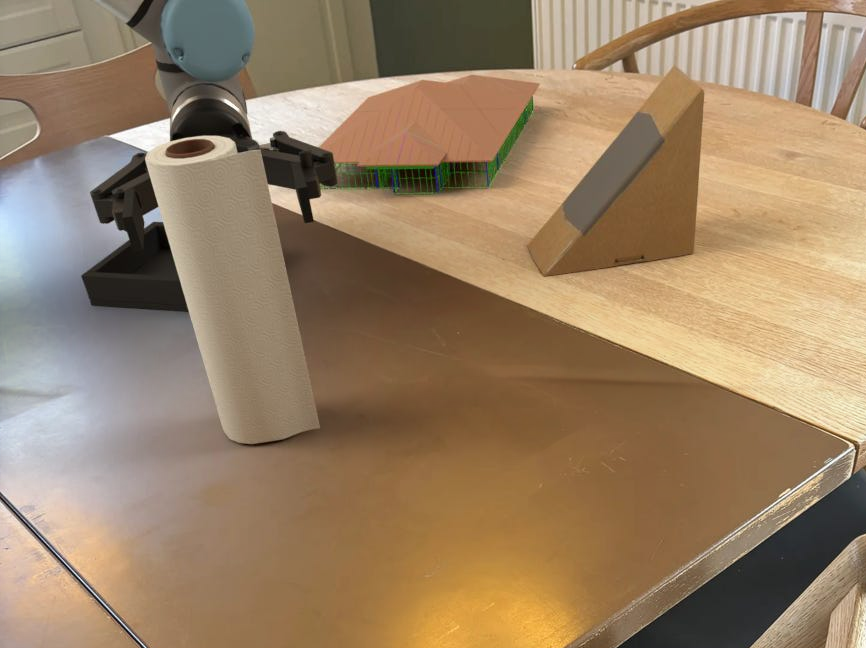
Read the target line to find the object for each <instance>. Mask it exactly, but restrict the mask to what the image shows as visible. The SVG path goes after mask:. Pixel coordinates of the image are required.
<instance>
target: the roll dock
mask: <svg viewBox="0 0 866 648" xmlns="http://www.w3.org/2000/svg"><path fill="white" fill-rule="evenodd" d="M80 277H81V280H82V282H83V285H84V288H85V291H86V294H87V297H88V300H89V303H90V305H91V306H100V307H115V308H128V309H129V308H130V309H145V310H161V311H177V312H189V310H188V307H187V303H186V300H185V296H184V293H183V289H182V286H181V282H180V279H179V275H178V272H177V268H176V265H175V262H174V258H173V255H172V251H171V248H170V244H169V241H168V237H167V234H166V230H165V227H164V223H163V221H152V222H151V223H150V224H148V225H147V226H145V227H144V243H143V251H140V252H134V253H133V250H132V246H131V243H130V240H129V239H128V240H127V241H125V242H124V243H123V244H122V245H119V247H117V248H116V249H115V250H113V251H112V252H111V253H109V254H108V255H107V256H106V257H104V258H103V259H101V260H100V261H98V262H97V263H96V264H94V265H93V266H92V267H90V268H89V269H87V271H85V272H84V273H82V274H81V276H80Z"/></svg>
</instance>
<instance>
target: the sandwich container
mask: <svg viewBox="0 0 866 648" xmlns="http://www.w3.org/2000/svg"><path fill="white" fill-rule="evenodd" d="M704 103H705V90H704V89H703V88H702V87H701V86H700V85H699V84H698V83H696V82H695V81H694V80H693V79H692V78H691V77H690V76H689V75H687V73H685V72H684V71H683V70H682V69H681V68H680V67H678V66H677V65H676V64H674V65H673V66H672V67H671V68H670V70H669V71H668V72H667V73H666V75H665V76H664V77H663V78H662V79H661V81H660V82H659V84H658V85H657V86H656V87H655V89H654V90H653V91H652V92H651V94H650V95H649V96H648V97H647V98H646V100H645V101H644V103H643V104H642V105H641V106H640V108H639V109H638V110H637V112H635V113H634V115H633V116H632V118H631V119H630V120H629V121H628V122H627V124H626V125H625V126H624V128H622V130H621V131H620V132H619V134H618V135H617V136H616V138H615V139H614V140H613V141H612V142H611V143H610V145H609V146H608V147H607V149H606V150H604V152H603V153H602V154H601V156H600V157H599V158H598V159H597V160H596V162H595V163H594V164H593V166H591V168H590V169H589V170H588V172H587V173H586V174H585V175H584V176H583V178H582V179H581V180H580V181H579V183H577V185H576V186H575V187H574V188H573V189H572V191H571V192H570V193H569V195H568V196H567V197H566V198H565V200H564V201H562V203H561V204H560V206H559V207H558V208H557V209H556V210H555V211H554V213H553V214H552V215H551V216H550V217H549V218H548V220H546V222H545V223H544V224H543V226H542V227H541V228H540V229H539V230H538V231H537V233H536V234H535V235H534V237H533V238H532V239H531V240H530V241H529V243H527V248H528V250H529V253H530V255H531V258H532V260H533V262H534V263H535V264H536V266H537V267H538V269H539V270H540V272H541V274H542V275H543V276H544V277H547V276H548V277H549V276H555V275H563V274H569V273H577V272H584V271H592V270H599V269H605V268H613V267H618V266H622V265H630V264H638V263H642V262H651V261H652V262H653V261H656V260H657V261H658V260H662V259H663V260H664V259H670V258H675V257H680V256H687V255H692V254H693V255H694V253H695V239H696V225H697V211H698V198H699V197H698V195H699V182H700V181H699V179H700V166H701V165H700V164H701V152H702V151H701V150H702V137H703V135H702V134H703V119H704V106H705V105H704Z"/></svg>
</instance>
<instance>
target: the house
mask: <svg viewBox="0 0 866 648" xmlns="http://www.w3.org/2000/svg"><path fill="white" fill-rule="evenodd" d="M539 86H540V83H539V82H532V81H525V80H517V79H510V78H501V77H495V76H494V77H493V76H486V75H477V74H470V75H466V76H462V77H460V78H456V79H453V80H450V81H446V82H445V81H435V80H427V79H421V80H418V81H415V82H412V83H408V84H405V85H402V86H399V87H396V88H393V89H390V90H387V91H384V92H381V93H377V94H374V95H372V96H368V97H367V98H366V99H365V100H364V101H363V102H362V103H361V104H360V105H359V106H358V107H357V108H356V109H355V110H353V112H352V113H351V114H350V115H349V116H348V117H347V118H346V119H345V120H344V121H343V122H342V123H341V124H340V125H339V126H338V127H337V128H336V129H335V130H334V131H333V132H332V133H331V134H330V135H329V136H328V137H327V138H326V139H325V140H324V141H323V142H322V143H321V144H320V145H319V146H317V147H318V148H321V149H324V150H327V151H329V152H332V153H333V157H334V163H335V168H336V170H337V169H340V173H338V172H336V174H337V175H341V181H342V182H341V183H342V187H339V186H338V185H336V187H335V188H336V189H339V190H342V189H346V190H348V189H357V190H358V189H359V187H358V186H357V179H356V174H357V175H358V172H355V166H354V165H356V166H357V167H359V174H360V181H361V189H364V183H363V177H362V175H366V177H367V185H368V189H371V187H370V181H369V175H368V174H369V173H368V170H370V175H371V182H372V189H375V185H374V179H373V175H375V180H376V189H383V188H384V186H385V185H386V189H389V186H388V182H389V180H390V179H391V183H392V191H393V194H394V195H396V194H397V195H399V194H400V195H403V194H405V195H406V194H407V195H409V194H410V195H413V194H414V195H415V194H422V195H423V194H426V195H428V194H440V193H441V191H442V189H489V188H490V187H491V185H492V183H493V181H494V180H495V178H496V176H497V175H496V174H498V173H499V171H500V170H499V169H501V168H499V167H500V166H501V167H502V166H503V165H502V163H503V162H504V163H505V161H506V159H507V158H506V156H507V153H508V152H509V151H510V149H511V147H512V146H513V145H514V146H515V144H514V142H515V140H516V138H517V137H518V136H519V134H520V132H521V130H522V128H523V126H524V125H525V124H526V121H527V119H528V117H530V116H529V115H531V113H532V111H533V109H534V95H535V93H536V91H537V89H538V88H539ZM526 109H527V110H526ZM526 125H527V124H526ZM521 133H522V132H521ZM520 135H521V134H520ZM511 150H512V149H511ZM510 152H511V151H510ZM507 157H508V156H507ZM505 158H506V159H505ZM504 160H505V161H504ZM451 163H452V164H451ZM458 163H459V168H460V169H459V170H462V163H465V165H466V170H469V164H468V163H472V170H474V171H455V170H456V169H455V166H457V167H458ZM475 163H478V165H479V167H480V170H481V171H475V170H476V166H475ZM481 163H484V164H485V170H486V171H485V177H486V186H484V182H483V178H481V183H482V184H481V186H470V184H468V186H464V184H463V183H464V182H463V181H461V186H457V180H456V177H454V183H455V186H450V184H448V187H447V186H446V187H445V185H446V184H447V183H450V178H451V176H452V175H451V174H454V176H456V174H459V173H460V176H461V179H463V174H467V180H468V182H470V174H471V173H474V174H481V176H483V171H482V170H483V168H482V165H481ZM504 163H503V164H504ZM341 165H345V166H346V167H345V168H346V172H342V166H341ZM348 165H352V170H353V172H349V169H348ZM446 166H447V167H446ZM450 166H453V167H452V172H451V167H450ZM361 167H365V170H366V171H365V172H362V170H361ZM372 170H374V172H372ZM400 170H404V172H405V177H401V174H400V173H398V172H400ZM407 170H411V176H412V177H411V178H412V184H413V185H412V186H413V190H414V191H413V192H409V185H408V177H407ZM413 170H418V177H414V172H413ZM420 170H424V171H425V172H424V173H425V174H427V170H429V173H430V175H432V170H433V176H434V177H433V176H430V177H427V176H428V175H425V177H423V176H422V177H421V176H420V175H421V173H420ZM453 170H454V171H453ZM489 170H490V171H489ZM491 170H492V171H491ZM494 170H495V171H494ZM497 170H498V171H497ZM343 174H344V175H345V174H347V179H348V180H347V181H348V185H349V187H345V184H344V179H343ZM350 175H354V176H353V177H354V184H355V187H351V182H350ZM476 177H477V176H476V175H474V182H475V183H474V185H477V178H476ZM403 179H404V180H406V181H405V183H406V188H407V189H406V190H407V192H403V189H402V183H401V180H403ZM416 179H417V180H418V179H419V180H421V179H425V181H426V182H425V183H428V179H429V180H430V182H431V184H433V179H435V185H436V192H434V187H433V185H431V192H429V186H428V184H426V190H427V192H423V191H422V183H421V181H419V186H420V187H419V188H420V192H416V189H415V181H414V180H416ZM493 179H494V180H493ZM319 185H320V188H321V189H320V190H324V188H326V186H325V185H322V184H319ZM322 186H323V187H322ZM327 188H328V189H327V190H329V188H330V187H327ZM340 188H341V189H340ZM399 189H400V192H398V190H399Z"/></svg>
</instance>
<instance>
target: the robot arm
mask: <svg viewBox="0 0 866 648" xmlns="http://www.w3.org/2000/svg"><path fill="white" fill-rule="evenodd" d="M91 1H92V2H94V3H95V4H97V5H98V6H99V7H101V8H102V9H104V10H105V11H107V12H108V13H109V14H111V15H112V16H114V17H115V18H117V19H118V20H119V21H121V22H122V23H124V24H125V25H126V26H128V27H129V28H130V29H131V30H132V31H134V32H135V33H137V34H138V35H140V36H141V37H142V38H143V39H145V40H146V41H148V42H149V43H151V46H152V49H153V53H154V56H155V63H156V66H157V71H158V74H159V78H160V83H161V86H162V89H163V93H164V97H165V101H166V104H167V109H168V111H169V112H168V113H169V142H170V141H175V140H179V139H183V138H189V137H197V136H221V137H226V138H230V139H231V140H232V141H234V142H235V144H236V148H237V153H242V152H247V151H252V150H261V155H262V159H263V164H264V169H265V173H266V178H267V183H268V185H271V186H274V187H279V188H280V187H281V188H285V189H290V190H295V193H296V198H297V201H298V205H299V208H300V211H301V215H302V219H303V223H304V224H309V223H314V221H315V220H314V214H313V209H312V204H311V200H314V199H320V198H321V196H322V192H321V189H320V188H321V186H324V185H325V187H328V188H333V187H335V186H338V184H339V180H338V174H336V173H337V169H336V167H335V163H334V157H333V153H332V152H329V151H327V150H324V149H321V148H318V147H319V146H315V145H312V144H309V143H307V142H304V141H302V140H299V139H296V138H293V137H290V135H289V134H288V133H287V132H286V131H284V130H276V131H275V132H273V133H272V137H270V138H269V142H268V143H262V144H259V142H258V141H257V140H255V139H253V135H252V130H251V124H250V121H249V119H248V105H247V102H246V96H245V92H244V89H243V87H242V84H241V80H240V75H239V74H240V73H241V72H242V71H243V70H244V69H245V68H246V66H247V65H248V64H249V62H250V61H251V58H252V56H253V53H254V49H255V43H256V30H255V23H254V19H253V16H252V13H251V11H250V9H249V7H248V4H247V2H246V1H245V0H91ZM146 155H147V153H145V152H137V153H136V154H133V156H132V157H131V159H130V162H128V163H127V164H126V165H124V166H123V167H122V168H121V169H119V170H117V171H116V172H115V173H114V174H112V175H111V176H110V177H108V178H107V179H105V180H104V181H103V182H101V183H100V184H99V185H97V186H96V187H94V188H93V189H92V190H90V191H89V195H90V197H91V201H92V203H93V206H94V209H95V213H96V216H97V218H98V221H99V223H100V224H103V225H105V224H106V225H107V224H110V223H112V222H114V223H115V226H116V229H117V230H118V231H120V232H121V231H124V232H126V234H127V237H128V240H130V243H131V246H132V250H133V253H134V252H140V251H143V243H144V228H145V220H144V216H145V215H147V214H149V213H150V212H152V211H155V210H156V209H157V208H159V206H158V203H157V199H156V196H155V192H154V189H153V185H152V182H151V178H150V175H149V172H148V168H147V165H146V161H145V157H146ZM319 184H320V185H321V184H322V185H321V186H320V185H319Z"/></svg>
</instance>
